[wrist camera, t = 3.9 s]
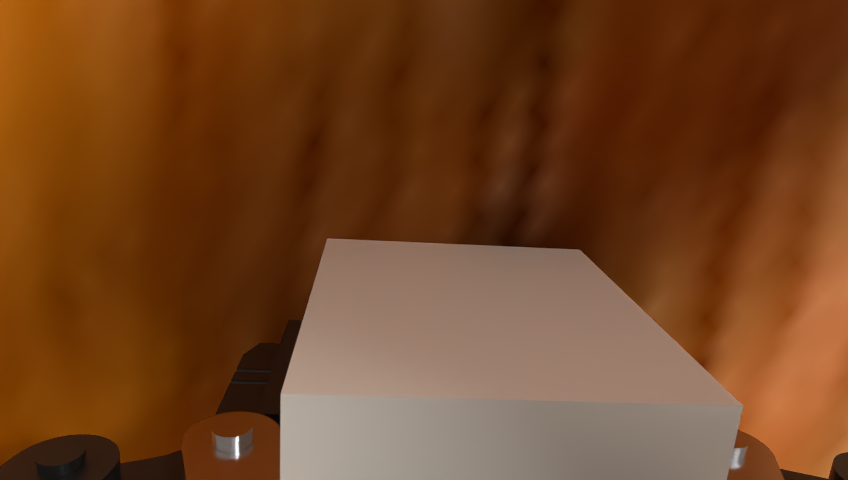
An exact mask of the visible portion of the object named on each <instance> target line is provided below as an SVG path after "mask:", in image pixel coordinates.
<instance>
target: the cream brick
mask: <svg viewBox="0 0 848 480" xmlns="http://www.w3.org/2000/svg"><path fill="white" fill-rule="evenodd" d="M742 409H743V405H742V404H741V403H740V402H739V401H738V400H737V399H736V398H735V397H734V396H732V395H731V394H730V393H729V392H728V391H727V390H726V389H725V388H724V387H723V386H722V385H721V384H720V383H719V382H718V381H717V380H716V379H715V378H714V377H713V376H712V375H710V374H709V373H708V372H707V371H706V370H705V369H704V368H703V367H702V366H701V365H700V364H699V363H698V362H697V361H696V360H695V359H694V358H693V357H692V356H691V355H690V354H688V353H687V352H686V351H685V350H684V349H683V348H682V347H681V346H680V345H679V344H678V343H677V342H676V341H675V340H674V339H673V338H672V337H671V336H670V335H669V334H668V333H667V332H665V331H664V330H663V329H662V328H661V327H660V326H659V325H658V324H657V323H656V322H655V321H654V320H653V319H652V318H651V317H650V316H649V315H648V314H647V313H646V312H645V311H643V310H642V309H641V308H640V307H639V306H638V305H637V304H636V303H635V302H634V301H633V300H632V299H631V298H630V297H629V296H628V295H627V294H626V293H625V292H624V291H623V290H621V289H620V288H619V287H618V286H617V285H616V284H615V283H614V282H613V281H612V280H611V279H610V278H609V277H608V276H607V275H606V274H605V273H604V272H603V271H602V270H601V269H600V268H598V267H597V266H596V265H595V264H594V263H593V262H592V261H591V260H590V259H589V258H588V257H587V256H586V255H585V254H584V253H583V252H582V251H581V250H577V249H554V248H532V247H510V246H488V245H465V244H443V243H421V242H399V241H376V240H354V239H332V238H327V241H326V244H325V248H324V251H323V254H322V258H321V261H320V264H319V268H318V271H317V274H316V277H315V281H314V284H313V287H312V291H311V294H310V297H309V301H308V304H307V307H306V311H305V314H304V317H303V321H302V324H301V327H300V331H299V334H298V337H297V341H296V344H295V347H294V351H293V354H292V357H291V361H290V364H289V367H288V371H287V374H286V377H285V381H284V384H283V387H282V391H281V401H280V480H727V476H728V472H729V467H730V463H731V458H732V454H733V449H734V445H735V440H736V436H737V431H738V427H739V422H740V418H741V413H742Z"/></svg>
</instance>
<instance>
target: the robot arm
mask: <svg viewBox="0 0 848 480" xmlns="http://www.w3.org/2000/svg"><path fill="white" fill-rule="evenodd" d="M302 321H303V320H289V321H288V324H287V327H286V330H285V333H284V335H283V338H282V341H281V344H271V343H259V344H258V345H257V346H255V347H254V348H252V349H251V350H249V351H248V352H247V353H245V354H244V355H243V357H242V359H241V361H240V363H239V365H238V367H237V372H235V374H234V376H233V378H232V380H231V383H230V384H229V387H228V389H227V391H226V393H225V395H224V397H223V399H222V402H221V404H220V406H219V408H218V410H217V412H216V415H214V416H210V417H208V418H205V419H203V420H201V421H199V422H197V423H196V424H194V425H193V426H192V427H190V428H189V429H188V430H187V431H186V433H185V434H184V436H183V439H182V450H180V451H177V452H174V453H171V454H168V455H165V456H160V457H156V458H151V459H145V460H139V461H133V462H127V463H121V464H120V453H119V449H118V447H117V445H116V444H115V443H114V442H112V441H111V440H109V439H107V438H104V437H100V436H96V435H68V436H62V437H57V438H53V439H49V440H46V441H43V442H40V443H38V444H35V445H33V446H31V447H29V448H27V449H25V450H23V451H21V452H20V453H18V454H17V455H15V456H14V457H12V458H11V459H10V460H8V461H7V462H6V463H4V464H3V465H2V466H0V480H280V401H281V391H282V387H283V384H284V381H285V377H286V374H287V371H288V367H289V364H290V361H291V357H292V354H293V351H294V347H295V344H296V341H297V337H298V334H299V331H300V327H301V324H302ZM727 480H848V452H846V453H842V454H839V455H837V456H836V457H835V458H834V460H833V464H832V467H831V471H830V475H829V479H826V478H821V477H816V476H812V475H807V474H802V473H797V472H792V471H787V470H783V469H780V468H779V465H778V463H777V461H776V458H775V456H774V454H773V453H772V451H771V450H770V449H769V448H768V447H767V446H766V445H765V444H763V443H762V442H760V441H759V440H758V439H756V438H754V437H752V436H751V435H749V434H747V433H744V432H742V431H740V430H738V431H737V436H736V440H735V445H734V449H733V454H732V458H731V463H730V467H729V472H728V476H727Z"/></svg>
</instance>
